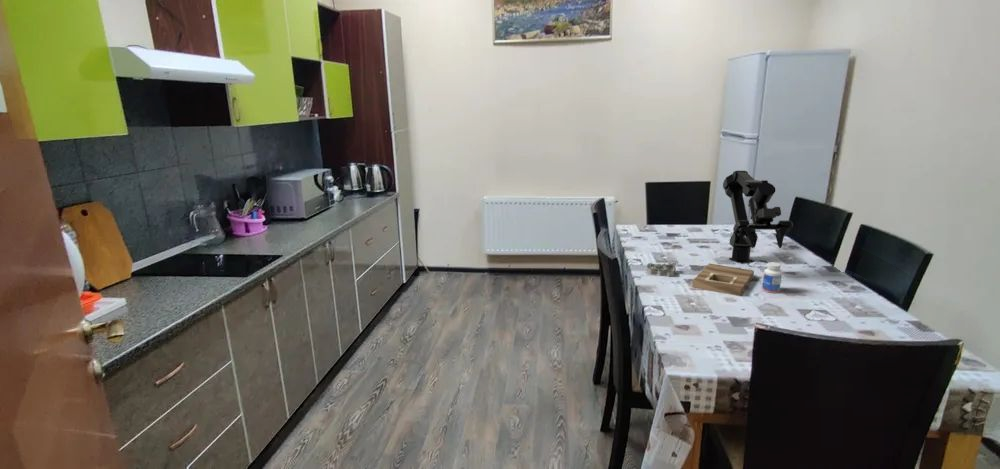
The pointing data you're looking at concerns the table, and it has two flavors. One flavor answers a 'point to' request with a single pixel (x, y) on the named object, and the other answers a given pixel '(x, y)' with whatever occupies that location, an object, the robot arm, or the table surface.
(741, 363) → the table surface
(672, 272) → the egg carton
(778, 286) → the pill bottle
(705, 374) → the table surface
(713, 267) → the socket board
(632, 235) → the table surface
